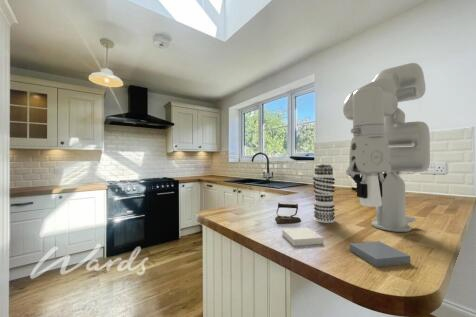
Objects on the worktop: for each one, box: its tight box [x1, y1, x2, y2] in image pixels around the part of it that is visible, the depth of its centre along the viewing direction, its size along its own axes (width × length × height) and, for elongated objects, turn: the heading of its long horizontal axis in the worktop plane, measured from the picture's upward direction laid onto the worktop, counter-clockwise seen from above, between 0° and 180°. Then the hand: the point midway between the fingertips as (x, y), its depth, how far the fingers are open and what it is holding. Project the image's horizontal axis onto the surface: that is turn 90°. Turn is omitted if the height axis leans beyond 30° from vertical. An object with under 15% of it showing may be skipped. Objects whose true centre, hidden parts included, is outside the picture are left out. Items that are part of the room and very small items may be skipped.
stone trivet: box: [281, 227, 324, 247], centre depth 73 cm, size 10×10×2 cm
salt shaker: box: [359, 173, 382, 208], centre depth 60 cm, size 5×5×11 cm
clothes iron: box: [274, 202, 302, 225], centre depth 94 cm, size 7×11×10 cm, turn 89°
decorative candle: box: [312, 163, 336, 224], centre depth 95 cm, size 9×9×25 cm
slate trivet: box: [349, 240, 411, 268], centre depth 59 cm, size 10×10×2 cm
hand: (369, 196), depth 60 cm, fingers closed on salt shaker, 4 cm apart
